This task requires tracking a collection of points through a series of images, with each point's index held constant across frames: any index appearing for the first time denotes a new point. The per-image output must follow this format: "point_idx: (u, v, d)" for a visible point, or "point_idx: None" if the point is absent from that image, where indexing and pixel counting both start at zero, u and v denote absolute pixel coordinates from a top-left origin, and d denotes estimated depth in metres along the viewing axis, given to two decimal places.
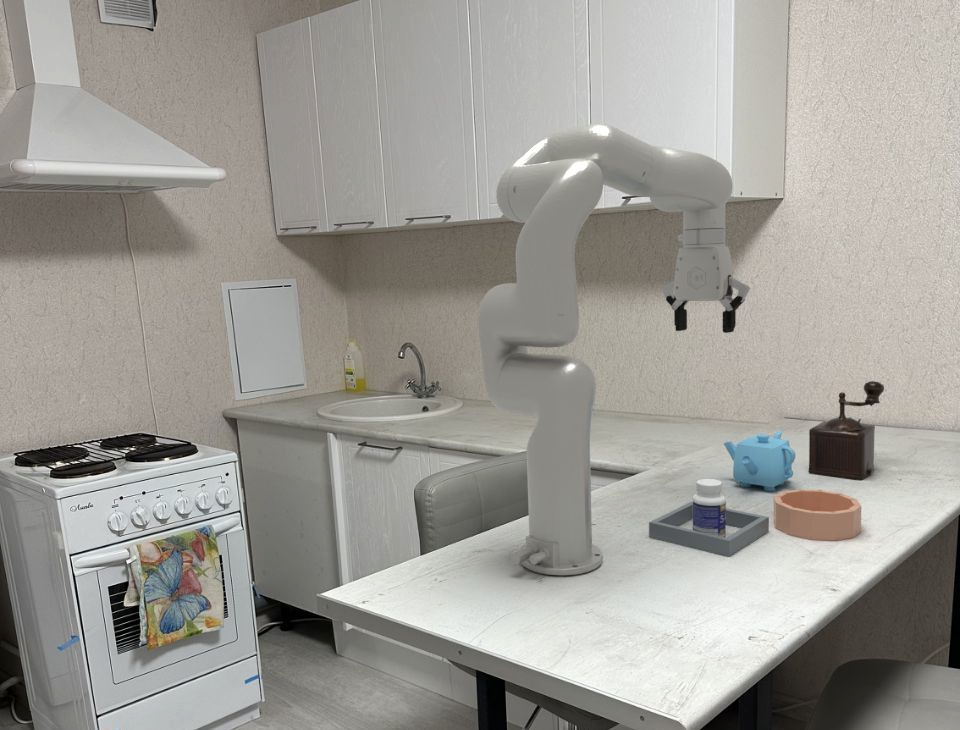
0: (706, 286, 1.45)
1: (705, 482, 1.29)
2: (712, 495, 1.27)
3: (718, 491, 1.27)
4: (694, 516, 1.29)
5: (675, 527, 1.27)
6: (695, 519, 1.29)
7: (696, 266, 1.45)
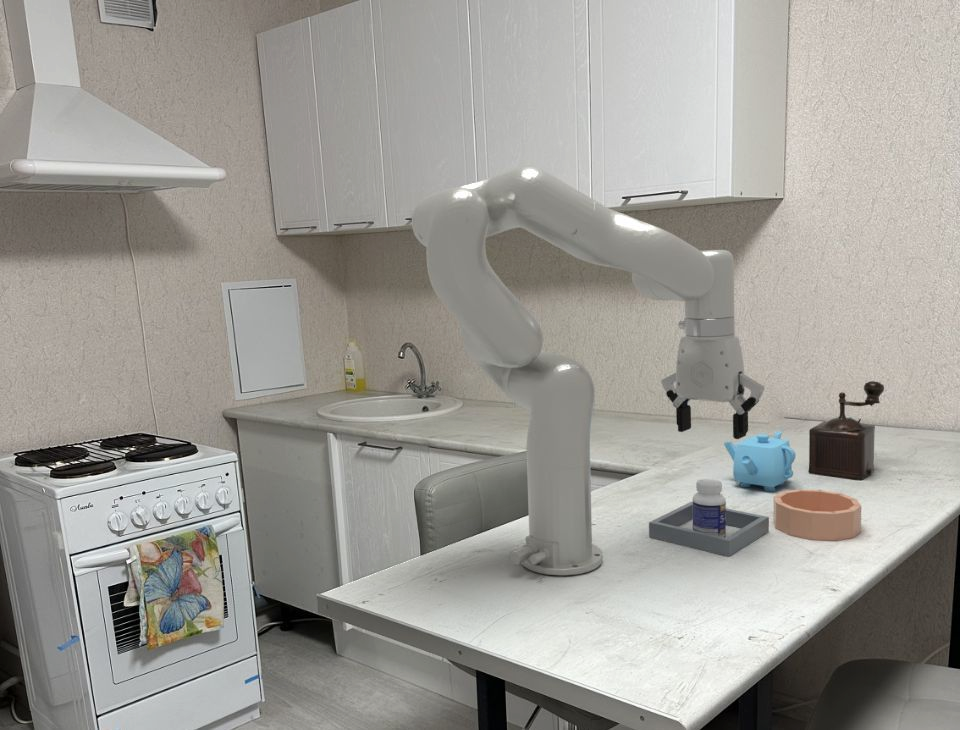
0: (713, 385, 1.23)
1: (705, 482, 1.29)
2: (712, 495, 1.27)
3: (718, 491, 1.27)
4: (694, 516, 1.29)
5: (675, 527, 1.27)
6: (695, 519, 1.29)
7: (701, 361, 1.24)
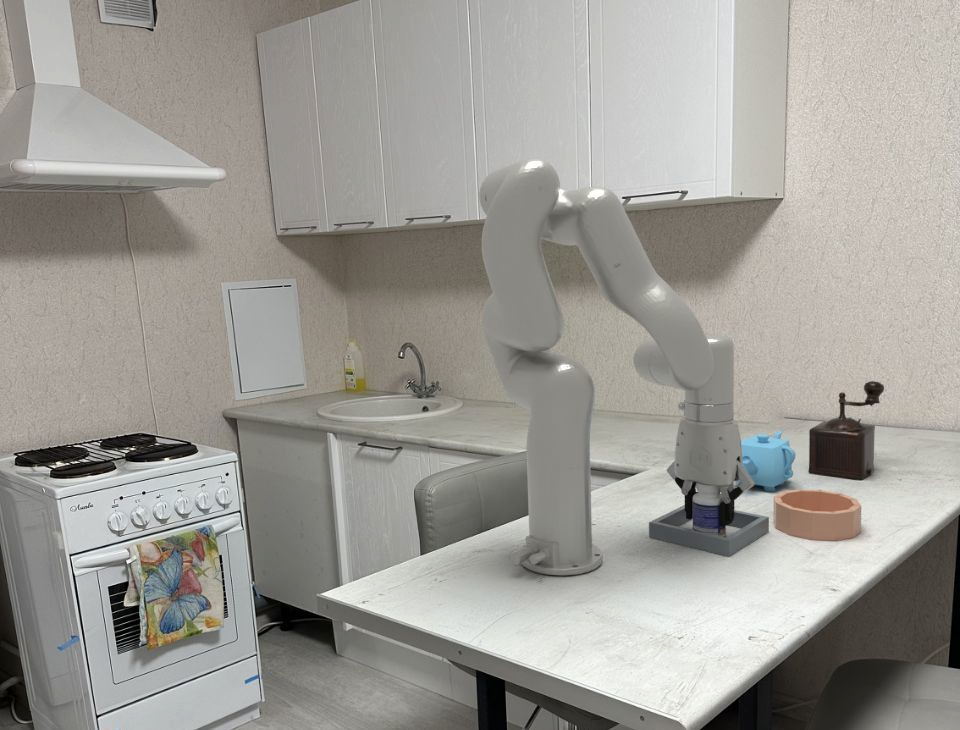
0: (711, 469, 1.25)
1: None
2: (712, 495, 1.27)
3: (718, 491, 1.27)
4: (694, 516, 1.29)
5: (675, 527, 1.27)
6: (695, 518, 1.29)
7: (700, 445, 1.26)
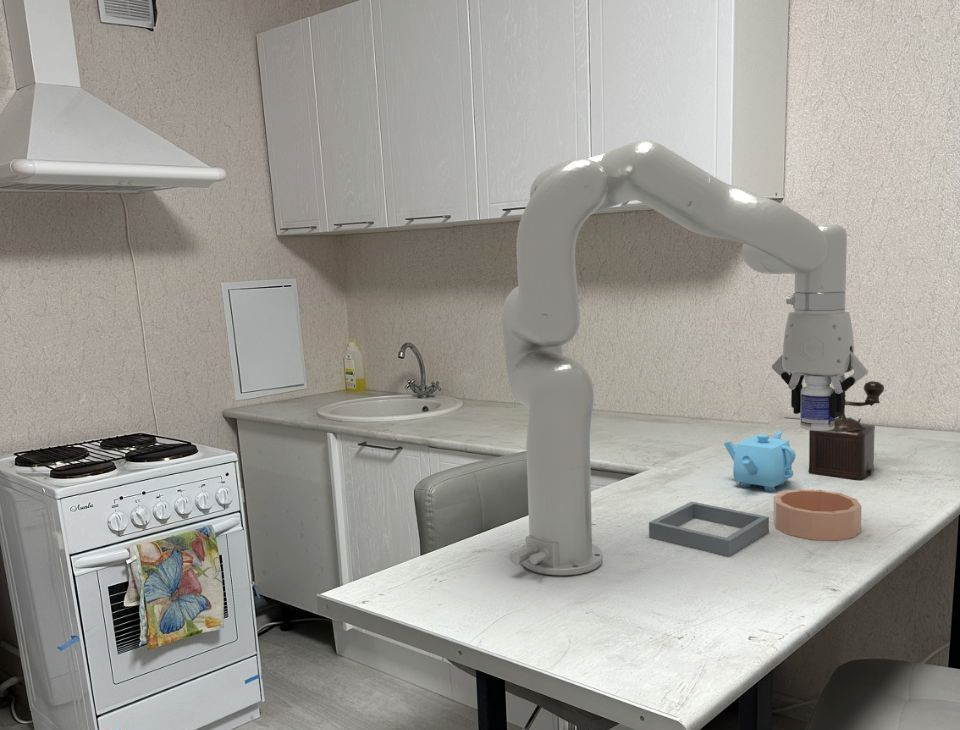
0: (824, 359, 1.25)
1: None
2: (823, 386, 1.27)
3: (829, 383, 1.27)
4: (803, 408, 1.28)
5: (675, 527, 1.27)
6: (804, 411, 1.28)
7: (811, 335, 1.25)
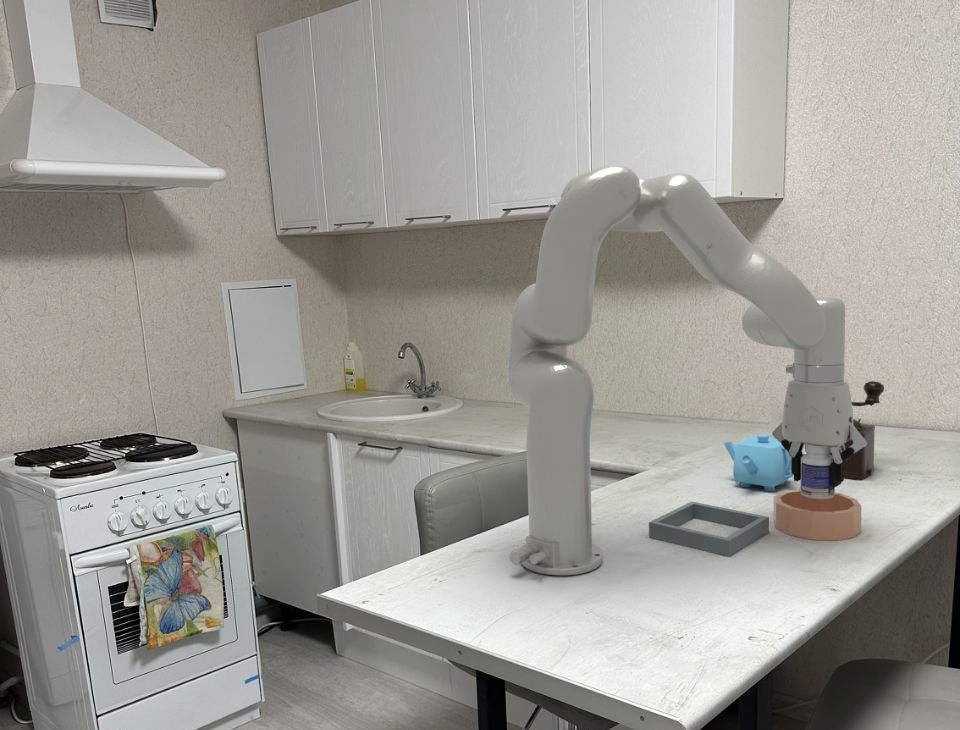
0: (823, 430, 1.26)
1: None
2: (823, 455, 1.28)
3: (829, 452, 1.28)
4: (803, 477, 1.30)
5: (675, 527, 1.27)
6: (804, 479, 1.30)
7: (811, 406, 1.27)
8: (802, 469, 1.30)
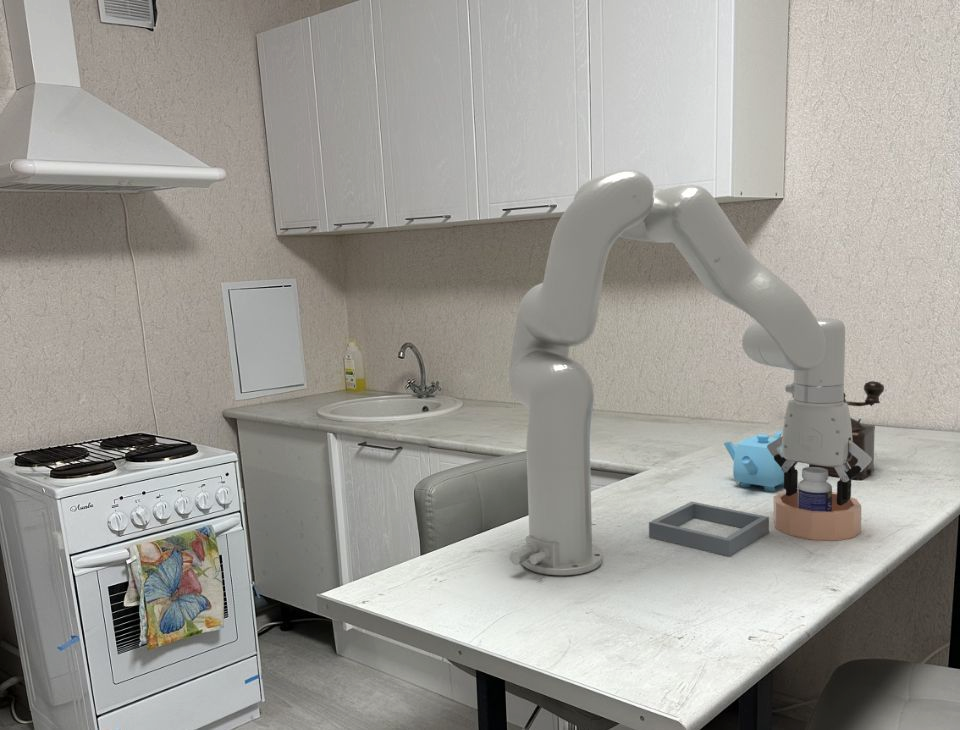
0: (823, 450, 1.26)
1: (811, 470, 1.30)
2: (820, 482, 1.29)
3: (826, 479, 1.29)
4: (800, 503, 1.31)
5: (675, 527, 1.27)
6: (801, 506, 1.30)
7: (810, 426, 1.27)
8: (799, 496, 1.31)
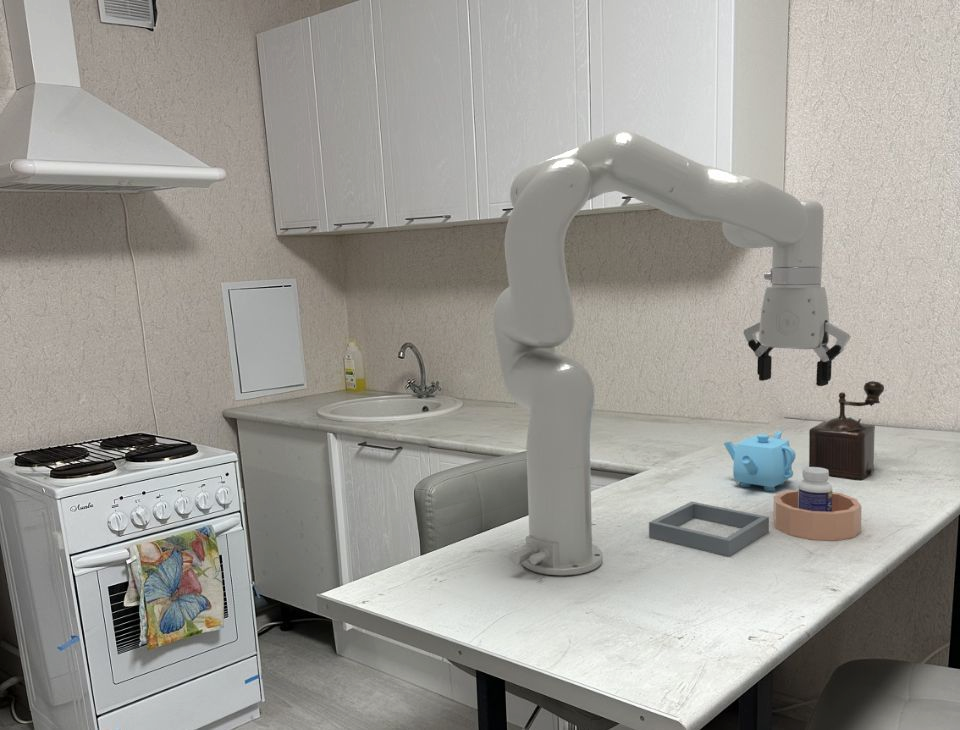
0: (799, 332, 1.27)
1: (811, 470, 1.30)
2: (820, 482, 1.29)
3: (826, 479, 1.29)
4: (800, 503, 1.31)
5: (675, 527, 1.27)
6: (801, 506, 1.30)
7: (787, 309, 1.28)
8: (799, 495, 1.31)
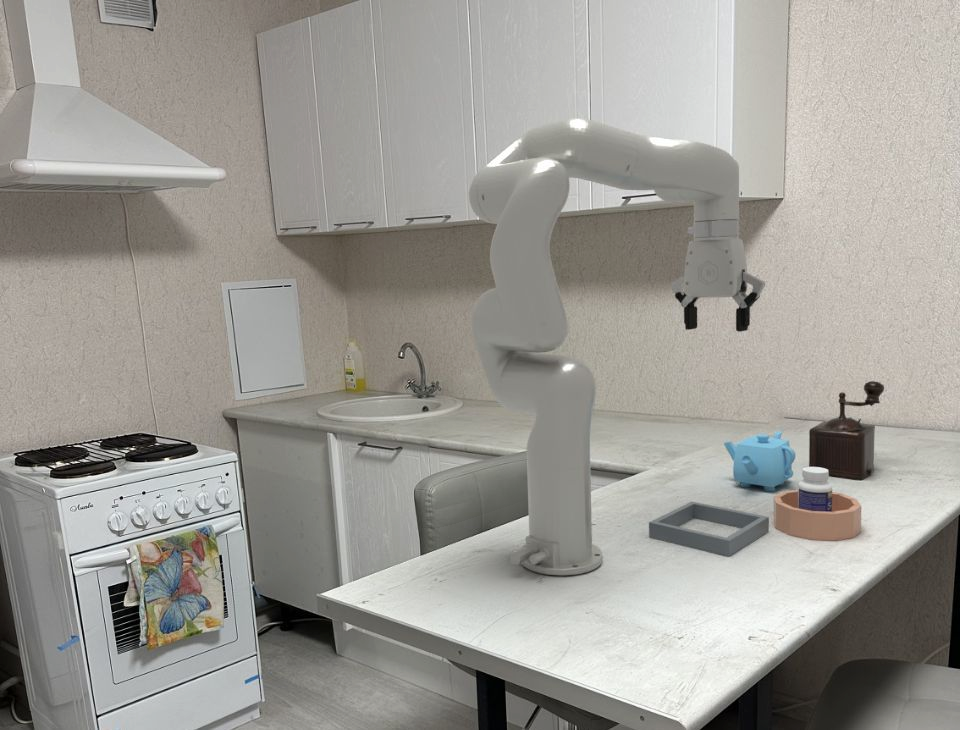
0: (718, 282, 1.35)
1: (811, 470, 1.30)
2: (820, 482, 1.29)
3: (826, 479, 1.29)
4: (800, 503, 1.31)
5: (675, 527, 1.27)
6: (801, 505, 1.30)
7: (708, 260, 1.36)
8: (799, 495, 1.31)
